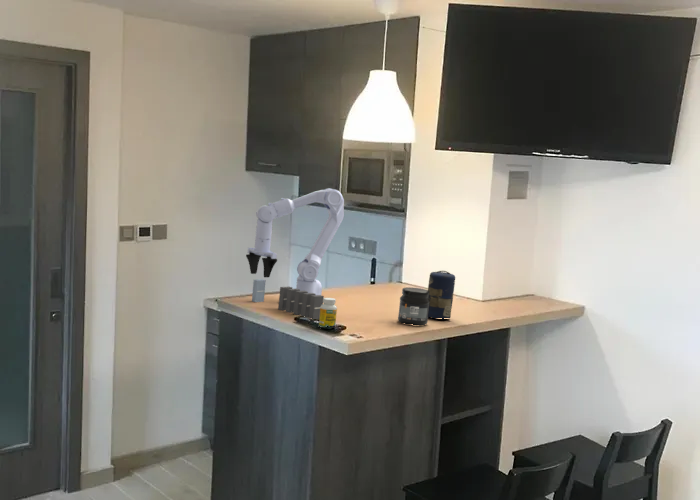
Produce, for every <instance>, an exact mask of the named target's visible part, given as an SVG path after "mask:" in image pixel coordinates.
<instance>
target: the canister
mask: <svg viewBox="0 0 700 500" xmlns="http://www.w3.org/2000/svg"><path fill="white" fill-rule="evenodd" d="M455 285H456V276H455V275H454V274H453V273H451V272H449V271H448V270H447V271H446V270H438V271H432V272H430V273H429V279H428V286H427V290H428V291H429V297H428V299H429V300H430V304H429V311H428V318H429V317H432V318H442V319H444V318H450V319H451V316H452V308H453V300H454V292H455ZM432 318H431V319H432Z"/></svg>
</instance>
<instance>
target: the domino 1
mask: <svg viewBox="0 0 700 500" xmlns="http://www.w3.org/2000/svg"><path fill="white" fill-rule="evenodd" d="M265 291H266V279H263V278H261V279H253V282H252V293H251V295H252V296H251V302H254V303H262V302H263V303H264V302H265V294H266V293H265Z"/></svg>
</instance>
